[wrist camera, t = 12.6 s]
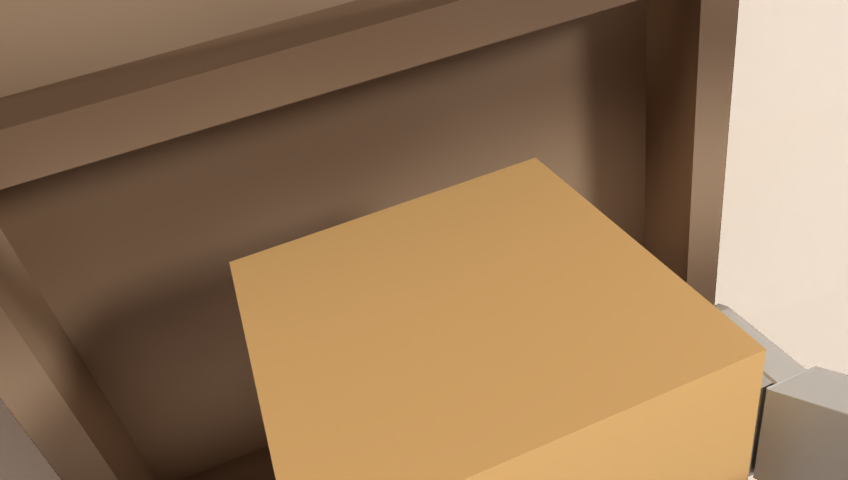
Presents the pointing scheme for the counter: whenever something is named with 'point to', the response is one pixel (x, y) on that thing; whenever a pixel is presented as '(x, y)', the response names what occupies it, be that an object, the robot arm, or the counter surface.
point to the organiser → (299, 178)
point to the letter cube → (493, 346)
